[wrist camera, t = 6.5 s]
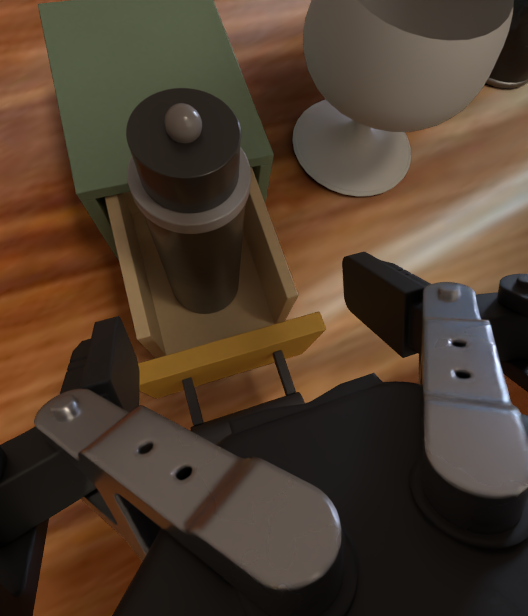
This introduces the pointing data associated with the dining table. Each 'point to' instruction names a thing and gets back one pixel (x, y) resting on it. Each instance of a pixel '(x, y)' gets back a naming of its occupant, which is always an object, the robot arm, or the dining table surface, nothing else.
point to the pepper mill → (191, 191)
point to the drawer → (212, 315)
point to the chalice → (389, 81)
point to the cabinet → (137, 83)
